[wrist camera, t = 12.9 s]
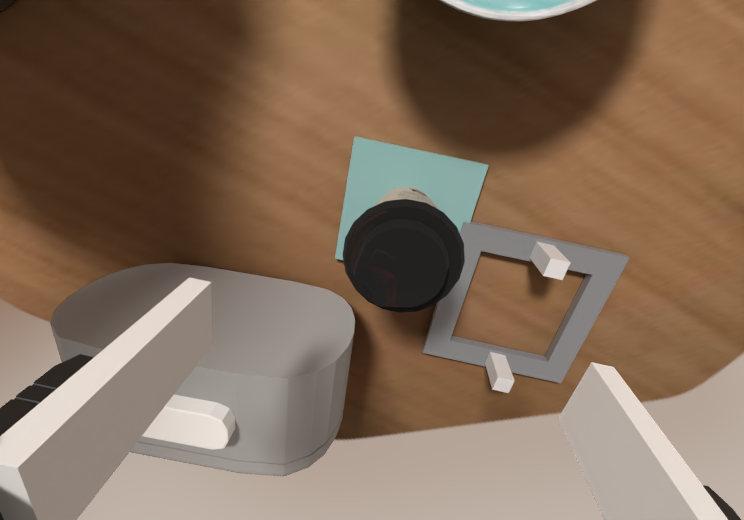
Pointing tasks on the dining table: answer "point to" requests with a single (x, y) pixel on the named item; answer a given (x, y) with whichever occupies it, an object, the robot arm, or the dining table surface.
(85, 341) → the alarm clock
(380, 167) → the coaster
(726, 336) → the dining table surface
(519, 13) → the bowl
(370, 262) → the coffee cup
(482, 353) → the collar
